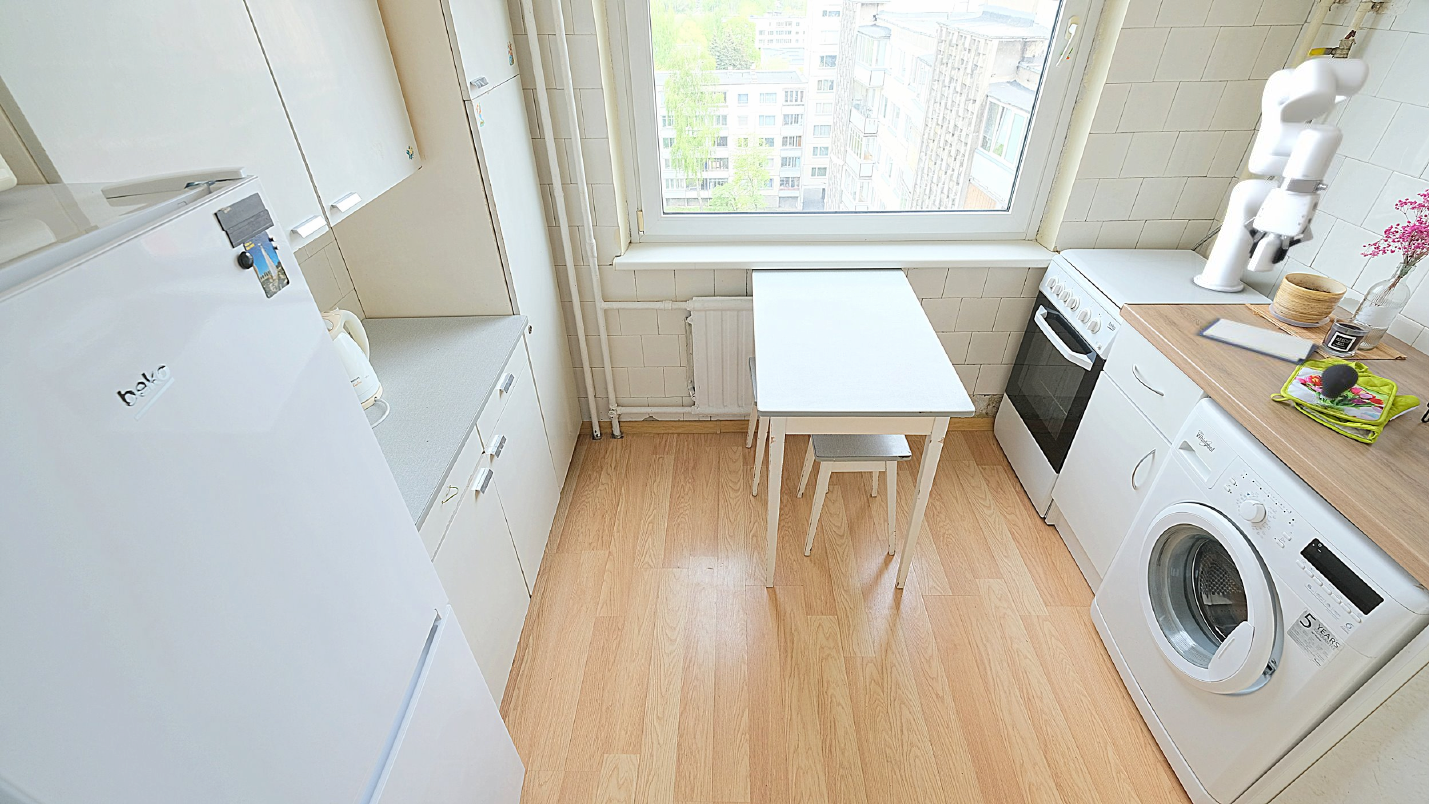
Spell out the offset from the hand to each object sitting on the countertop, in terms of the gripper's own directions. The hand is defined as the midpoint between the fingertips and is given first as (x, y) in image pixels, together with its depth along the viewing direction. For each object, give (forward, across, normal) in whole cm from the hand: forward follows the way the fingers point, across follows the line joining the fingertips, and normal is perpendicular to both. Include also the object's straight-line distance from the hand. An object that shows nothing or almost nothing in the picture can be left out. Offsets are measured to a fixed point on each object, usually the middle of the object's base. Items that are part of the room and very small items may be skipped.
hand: (1264, 259), depth 160 cm
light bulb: (+20, -29, +26) cm, 44 cm away
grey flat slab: (+20, -6, +2) cm, 21 cm away
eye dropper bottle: (+3, 0, 0) cm, 3 cm away
